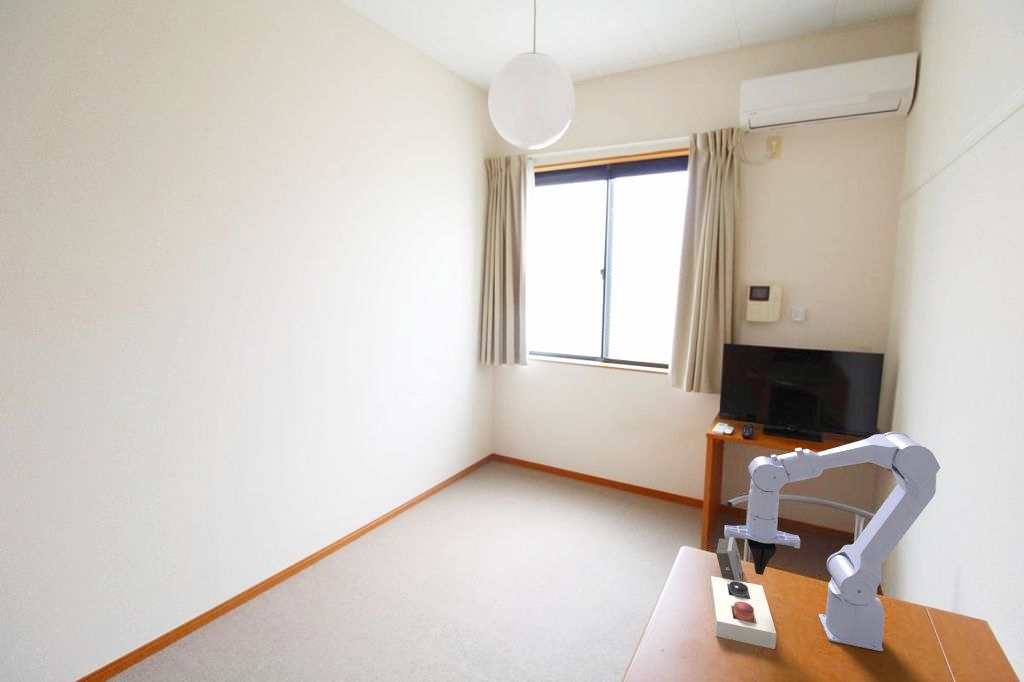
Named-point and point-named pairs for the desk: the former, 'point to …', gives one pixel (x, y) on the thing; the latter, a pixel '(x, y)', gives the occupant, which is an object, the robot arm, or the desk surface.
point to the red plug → (743, 611)
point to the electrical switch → (729, 559)
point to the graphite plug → (738, 589)
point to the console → (739, 630)
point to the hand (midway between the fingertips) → (758, 571)
